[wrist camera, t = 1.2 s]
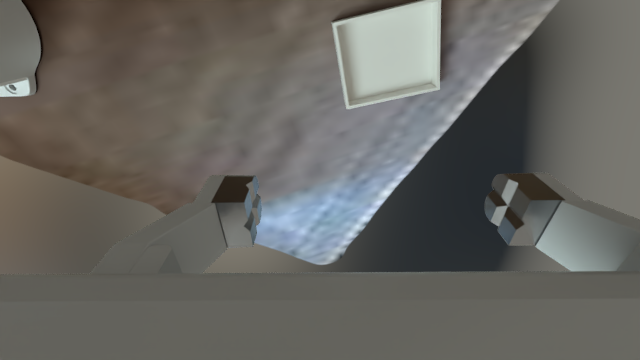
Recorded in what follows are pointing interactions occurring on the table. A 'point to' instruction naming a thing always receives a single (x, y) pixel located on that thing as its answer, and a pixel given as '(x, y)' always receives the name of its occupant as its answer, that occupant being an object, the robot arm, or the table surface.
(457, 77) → the table surface
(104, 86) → the table surface
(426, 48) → the tray
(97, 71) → the table surface
